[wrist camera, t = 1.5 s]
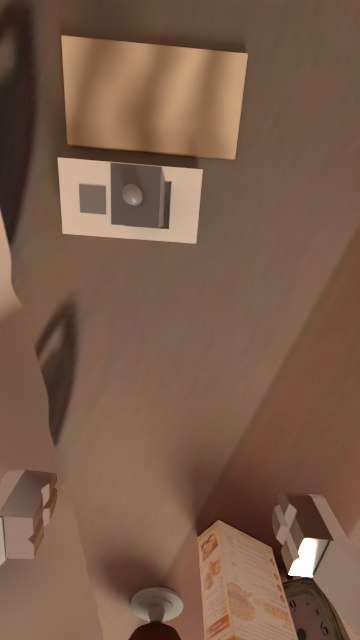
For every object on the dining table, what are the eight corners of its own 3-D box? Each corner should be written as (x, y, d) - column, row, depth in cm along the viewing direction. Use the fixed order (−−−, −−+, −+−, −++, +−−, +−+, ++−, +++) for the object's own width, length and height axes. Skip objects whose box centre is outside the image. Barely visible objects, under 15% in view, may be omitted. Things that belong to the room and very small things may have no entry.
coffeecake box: (196, 537, 57) (205, 686, 39) (218, 517, 55) (238, 665, 37) (250, 564, 60) (282, 714, 42) (272, 546, 58) (316, 695, 40)
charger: (166, 186, 34) (159, 161, 20) (164, 225, 35) (157, 228, 21) (133, 183, 33) (104, 157, 20) (133, 223, 35) (105, 224, 21)
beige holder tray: (199, 175, 35) (202, 169, 31) (194, 241, 37) (196, 243, 33) (70, 164, 34) (57, 157, 30) (74, 232, 37) (62, 233, 33)
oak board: (246, 57, 31) (247, 53, 30) (233, 159, 34) (235, 158, 33) (64, 40, 30) (61, 35, 29) (69, 145, 33) (67, 144, 33)
